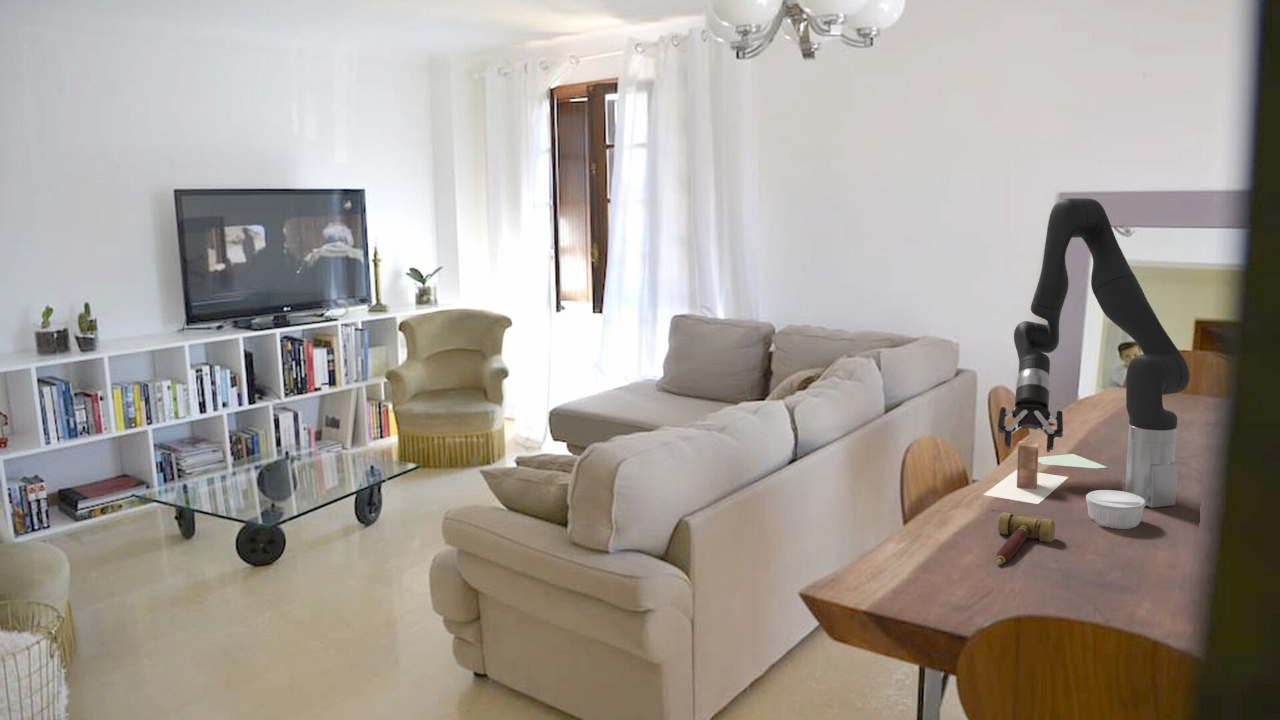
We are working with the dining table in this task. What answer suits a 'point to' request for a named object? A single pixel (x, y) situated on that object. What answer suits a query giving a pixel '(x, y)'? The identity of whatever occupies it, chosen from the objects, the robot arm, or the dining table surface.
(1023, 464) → the tan recessed-panel box
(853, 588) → the dining table surface
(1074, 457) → the mat
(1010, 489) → the hook board
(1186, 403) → the dining table surface
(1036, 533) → the gavel
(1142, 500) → the ramekin
